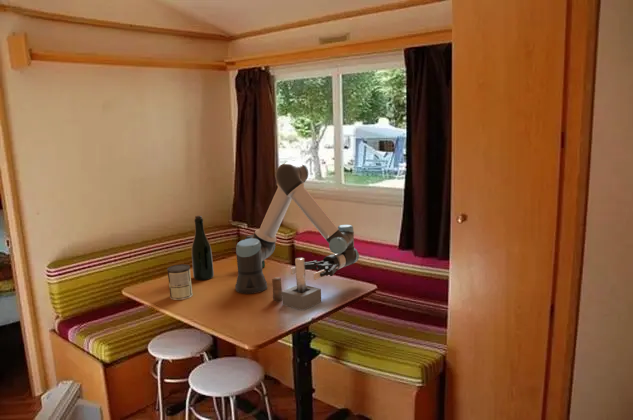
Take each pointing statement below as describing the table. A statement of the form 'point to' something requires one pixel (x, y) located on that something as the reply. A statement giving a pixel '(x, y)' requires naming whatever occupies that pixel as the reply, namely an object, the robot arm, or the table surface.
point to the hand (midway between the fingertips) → (302, 274)
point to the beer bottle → (201, 253)
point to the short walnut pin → (277, 289)
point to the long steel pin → (300, 275)
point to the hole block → (301, 297)
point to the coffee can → (179, 282)
